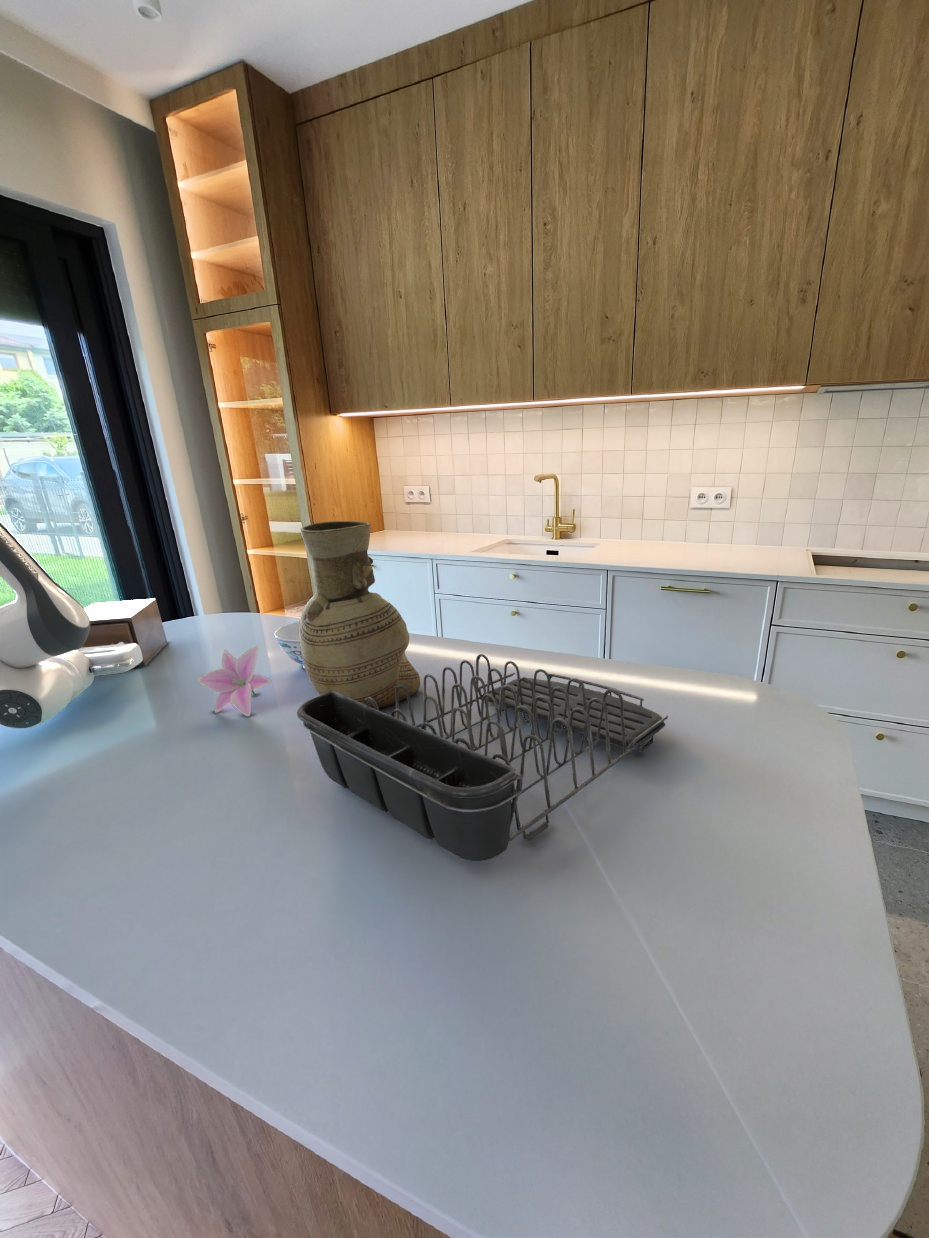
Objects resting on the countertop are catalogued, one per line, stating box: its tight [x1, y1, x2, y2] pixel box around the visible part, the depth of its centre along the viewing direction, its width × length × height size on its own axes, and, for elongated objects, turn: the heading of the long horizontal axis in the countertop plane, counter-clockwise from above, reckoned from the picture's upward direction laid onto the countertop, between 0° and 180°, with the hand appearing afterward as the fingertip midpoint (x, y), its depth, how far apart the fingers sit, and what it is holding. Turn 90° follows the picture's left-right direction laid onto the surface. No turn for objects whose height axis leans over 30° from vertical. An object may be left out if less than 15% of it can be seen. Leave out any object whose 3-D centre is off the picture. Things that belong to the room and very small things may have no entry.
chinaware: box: [274, 620, 306, 670], centre depth 118 cm, size 15×15×8 cm
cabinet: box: [83, 598, 168, 668], centre depth 125 cm, size 16×13×11 cm
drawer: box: [81, 621, 140, 665], centre depth 121 cm, size 19×11×9 cm, turn 13°
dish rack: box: [296, 653, 669, 862], centre depth 79 cm, size 34×44×12 cm
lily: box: [197, 645, 272, 717], centre depth 101 cm, size 12×12×10 cm
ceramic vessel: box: [299, 520, 421, 709], centre depth 98 cm, size 19×21×30 cm
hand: (94, 648), depth 114 cm, fingers open, 8 cm apart
